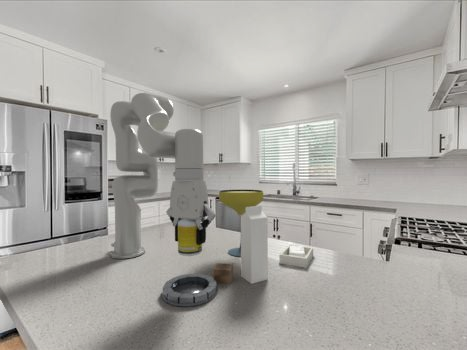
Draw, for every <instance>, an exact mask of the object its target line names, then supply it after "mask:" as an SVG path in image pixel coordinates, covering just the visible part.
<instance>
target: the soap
mask: <svg viewBox="0 0 467 350" xmlns="http://www.w3.org/2000/svg"><path fill="white" fill-rule="evenodd" d="M300 246H301V245H296V246H290V247H289V255H290V256H296V257H303V258H305V252H304V248H303V247H304V246H303V247H300Z"/></svg>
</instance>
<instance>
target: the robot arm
mask: <svg viewBox="0 0 467 350" xmlns="http://www.w3.org/2000/svg"><path fill="white" fill-rule="evenodd" d="M174 108H175V107H174V105H173V103H172V101H171V100H170V99H169V98H166V97H164V96H160V95H156V94H151V93H146V92H138V93H136V94H135V95H133V97H132V98H131V101H123V100H122V101H120V100H119V101H116V102H114V103H113V104H112V105H111V108H110V122H111V126H112V129H113V132H114V136H115V137H114V138H115V164H116V165H115V166H116V168H117V169H118V171H120V172H125V173H126V172H128V173H130V172H131V173H143V174H142V175H140V174H139V175H138V174H125V175H119V176H117V177H115V178H114V179H113V180H112V183H111V189H112V196H113V200H114V201H113V202H114V240H115V241H114V242H112V243H111V244H110V245H111V247H112V248H114V250H112V251H111V253H110V257H111V258H113V259H117V260H118V259H119V260H121V259H122V260H123V259H131V258H135V257H138V256H142V255H143V254H144V253H145V252H146V248H145V247H143V246H142V218H141V217H142V216H141V215H142V214H141V212H142V210H141V207H140V205H139V204H138V203H137V202H136V200H135V199H145V198H152V197H155V196H156V195H157V193H158V189H159V187H158V186H159V177H158V173H159V171H158V158H159V159H174V164H175V165H174V167H175V168H174V171H173V174H172V175H173V177H175V178H174V179H175V180H173V181H172V183H171V188H170V199H169V207H168V209H167V210H166V211H165V212H166V214H167V216H168V218H169V220H170V221H171V223H172V227H174V242H177V243H178V221H179V220H180V219H193V220H196V223H197V226H198V228H199V229H197V230H196V243H197V245H200V244H202V245H203V244H204V243H206V240H207V228H208V226H209V225H210V224H211V223H212V221H213V220H214V219H215V218H216V216H217V214H216V213H215V212H214V211H213V210H212V209H211V207H210V206H209V196H208V187H207V183H206V180H204V178H205V177H204V135H203V132H202V131H201V130H199V129H195V128H181V129H178V130H177V131H175V132H172V131H165V130H166V129H167V128H168V126H169V123H170V120H171V119H172V117H173V116H174V111H175V109H174ZM132 126H136V127H137V132H136V131H135V129H134V128H133V127H132ZM139 145H140V146H139ZM140 147H141V148H140Z"/></svg>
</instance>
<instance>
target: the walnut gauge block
mask: <svg viewBox="0 0 467 350" xmlns="http://www.w3.org/2000/svg"><path fill="white" fill-rule="evenodd" d="M233 266H234V265H233V263H222V262H221V263H217V262H216V265H215V266H214V268H213V278H214V279H215V280H216V284H231V283H232V280H233V276H234V273H233V272H234V267H233Z"/></svg>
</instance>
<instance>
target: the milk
mask: <svg viewBox="0 0 467 350" xmlns="http://www.w3.org/2000/svg"><path fill="white" fill-rule="evenodd" d="M268 227H269V226H268V216H267V215H266V214H265V212H264V211H263V207H262V205H256V206H253V207H246V212H245V213H244V214H243V215H242V216H240V240H241V257H240V277H241V278H243V279H244V280H246V281H247V282H248V283H249V284H251V285H253V284H257V283H260V282H264V281H267V280H268V279H269V267H268V265H269V260H268V259H269V258H268V257H269V251H268V249H269V248H268V245H269V244H268V243H269V242H268V237H269V236H268V233H269V232H268Z"/></svg>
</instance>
